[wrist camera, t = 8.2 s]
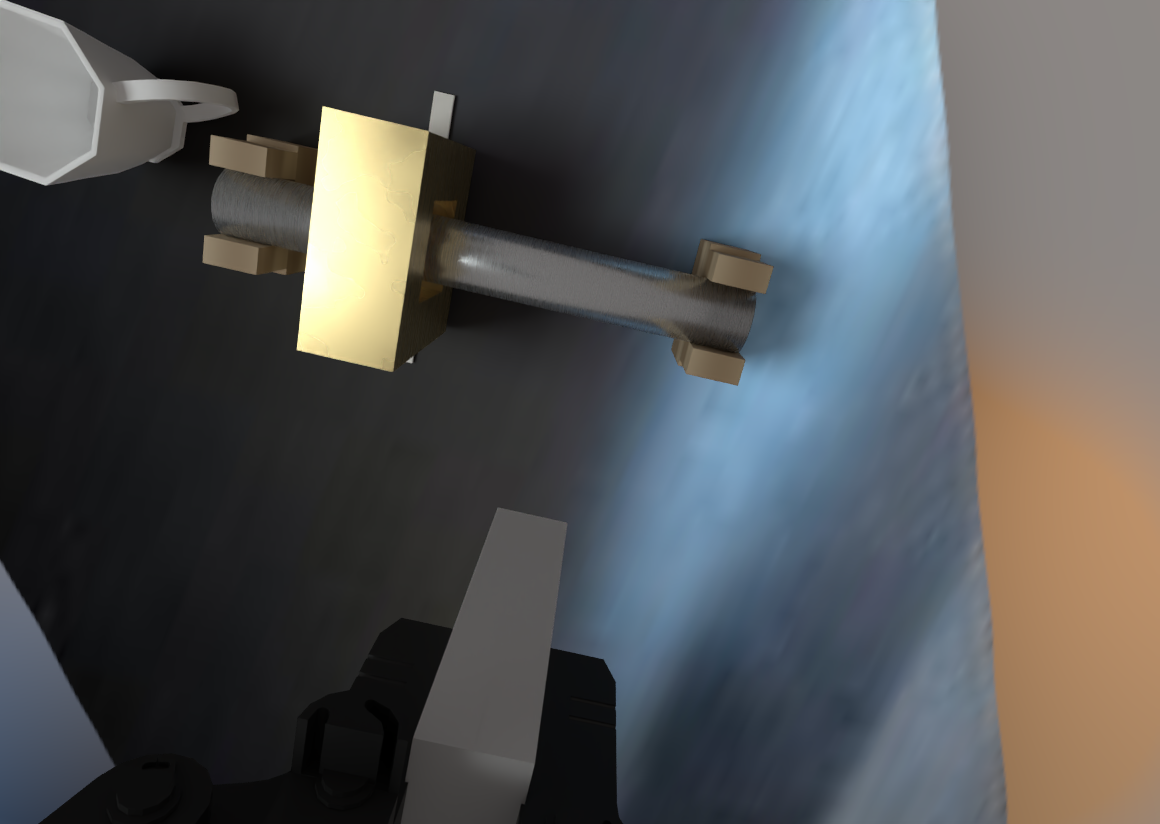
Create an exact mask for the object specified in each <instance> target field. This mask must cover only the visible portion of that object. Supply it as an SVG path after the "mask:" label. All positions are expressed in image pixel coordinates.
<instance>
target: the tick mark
mask: <svg viewBox="0 0 1160 824" xmlns="http://www.w3.org/2000/svg"><path fill="white" fill-rule="evenodd" d="M454 100H455V96H454V95H450V94H446V93H441V92H437V91H434V98H433V104H432V111H431V118H430V124H429V132H432V133H434V134H437V135H439V136H442V137H444V138H447V139H448V138H449V131H450V125H451V119H452V112H453V106H454ZM413 360H414V356H413V357H412V358H410V359H409V360H408V361H406V362H409V363H413Z"/></svg>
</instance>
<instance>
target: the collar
mask: <svg viewBox="0 0 1160 824" xmlns="http://www.w3.org/2000/svg"><path fill="white" fill-rule="evenodd" d="M475 153H476V150H474V149H472V148H469V147H467V146H464V145H462V144H459V143H457V142H454V141H452V140H449V139H447V138H444V137H442V136H439V135H437V134H434V133H432V132H429V131H425V130H421V129H417V128H412V127H408V126H404V125H400V124H396V123H391V122H387V121H383V120H379V119H374V118H370V117H366V116H362V115H357V114H353V113H349V112H345V111H340V110H336V109H332V108H328V107H324V106H323V110H322V119H321V128H320V138H319V147H318V156H317V166H316V175H315V185H314V194H313V203H312V213H311V222H310V231H309V241H308V250H307V260H306V269H305V278H304V288H303V297H302V306H301V316H300V325H299V334H298V344H297V350H299V351H303V352H308V353H312V354H317V355H321V356H325V357H330V358H334V359H339V360H343V361H347V362H352V363H356V364H361V365H365V366H369V367H374V368H378V369H382V370H387V371H391V372H393V371H395V370H396V369H397V368H399V367H400V366H401V365H403V364H404V363H405V362H406V361H408V360H409V359H410V358H412V357H413V356H414V355H416V354H417V353H418V352H419V351H421V350H422V349H423V348H425V347H426V346H427V345H429V344H430V343H431V342H433V341H434V340H435V339H436V338H438V337H439V336H440V335H442V334H443V333H444V332H445V330H446V324H447V318H448V313H449V307H450V301H451V295H452V289H453V287H449V286H444V285H440V284H436V283H431V282H427V281H423V280H422V278H423V271H424V265H425V258H426V252H427V245H428V239H429V233H430V226H431V220H432V214H435V215H439V216H443V217H448V218H452V219H456V220H460V221H464V218H465V212H466V206H467V200H468V194H469V188H470V183H471V177H472V171H473V165H474V159H475Z"/></svg>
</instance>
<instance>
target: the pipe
mask: <svg viewBox="0 0 1160 824" xmlns="http://www.w3.org/2000/svg"><path fill="white" fill-rule="evenodd" d="M313 194H314V186H310V185H306V184H302V183H298V182H293V181H289V180H285V179H280V178H267V177H261V176H257V175H253V174H248V173H244V172H240V171H236V170H231V169H227V168H226V169H225V170H224V171H222V173H221V174H220V175H219V177H218V178H217V180H216V183H215V185H214V189H213V193H212V200H211V211H212V218H213V221H214V224H215V226H216V228H217V230H218V231H219V232H220V233H222V234H224V235H228V236H232V237H237V238H241V239H245V240H250V241H254V242H258V243H263V244H267V245H271V246H275V247H280V248H284V249H288V250H293V251H297V252H301V253H306V254H307V250H308V241H309V231H310V222H311V213H312V203H313ZM422 280H423V281H427V282H431V283H436V284H440V285H444V286H449V287H453V288H457V289H462V290H466V291H470V292H475V293H479V294H483V295H488V296H492V297H496V298H501V299H505V300H509V301H514V302H518V303H522V304H526V305H531V306H535V307H539V308H544V309H548V310H552V311H557V312H561V313H565V314H570V315H574V316H578V317H583V318H587V319H591V320H596V321H600V322H604V323H609V324H613V325H617V326H622V327H626V328H630V329H635V330H639V331H643V332H648V333H652V334H656V335H661V336H665V337H669V338H674V339H678V340H682V341H687V342H691V343H695V344H700V345H704V346H708V347H713V348H717V349H721V350H726V351H730V352H734V353H738V352H739V351H740V350H741V349H742V347H743V345H744V343H745V341H746V339H747V336H748V334H749V331H750V328H751V324H752V321H753V317H754V312H755V306H756V292H754V291H750V290H746V289H741V288H737V287H733V286H729V285H724V284H720V283H716V282H712V281H710V280H709V279H708V278H705V277H700V276H696V275H692V274H688V273H683V272H679V271H675V270H670V269H666V268H662V267H658V266H653V265H649V264H645V263H640V262H636V261H632V260H628V259H623V258H619V257H615V256H610V255H606V254H602V253H598V252H593V251H589V250H585V249H580V248H576V247H572V246H568V245H563V244H559V243H555V242H550V241H546V240H542V239H538V238H533V237H529V236H525V235H520V234H516V233H512V232H508V231H503V230H499V229H495V228H490V227H486V226H482V225H478V224H473V223H469V222H465V221H460V220H456V219H452V218H448V217H443V216H439V215H435V214H432V220H431V226H430V233H429V239H428V245H427V252H426V258H425V265H424V271H423V278H422Z"/></svg>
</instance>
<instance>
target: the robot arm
mask: <svg viewBox="0 0 1160 824" xmlns="http://www.w3.org/2000/svg"><path fill="white" fill-rule="evenodd" d="M566 529H567V523H566V522H561V521H557V520H552V519H548V518H543V517H538V516H534V515H529V514H525V513H520V512H516V511H511V510H507V509H502V508H497V511H496V514H495V516H494V519H493V522H492V525H491V527H490V530H489V533H488V535H487V538H486V541H485V544H484V546H483V549H482V552H481V554H480V557H479V560H478V563H477V565H476V568H475V571H474V573H473V576H472V579H471V582H470V584H469V587H468V590H467V592H466V595H465V598H464V601H463V603H462V606H461V609H460V611H459V614H458V617H457V620H456V622H455V625H454V628H453V629H451V628H446V627H442V626H437V625H432V624H428V623H423V622H418V621H414V620H409V619H405V618H401V619H399V620H398V621H396V622H395V623H394V624H392V625H391V626H389V627H388V628H387V629H385V630H384V631H382V632H381V633H380V634H379V636H378V638H377V640H376V642H375V643H374V645H373V647H372V649H371V651H370V653H369V655H368V658H367V659H366V660H365V662H364V664H363V666H362V668H361V670H360V672H359V675H358V677H356V679H355V681H354V683H353V685H352V687H351V688H350V690H348V691H343V692H338V693H333V694H329V695H327V696H325V697H323V698H321V699H319V700H317V701H315V702H313V703H311V704H310V705H309V706H308V707H307V708H306V709H305V710H304V711H303V712H302V714H301V715H300V716H299V717H298V718H297V727H296V735H295V743H294V751H293V759H292V767H291V771H289V772H288V773H286V774H283V775H280V776H277V777H274V778H271V779H268V780H262V781H255V782H248V783H234V784H220V785H213V784H212V781H211V779H210V776H209V773H208V770H207V769H206V768H205V767H203V766H202V765H201V764H199V763H198V762H197V761H196V760H194V759H193V758H189V757H185V756H181V755H177V754H173V753H169V754H152V755H145V756H142V757H139V758H136V759H132V760H129V761H126V762H123V763H121V764H119V765H117V766H116V767H114V768H112V769H111V770H109V771H107V772H106V773H104V774H102V775H101V776H99V777H98V778H96V779H95V780H94V781H92V782H91V783H90V784H89V785H87V786H86V787H85V788H83V789H82V790H81V791H80V792H78V793H77V794H76V795H75V796H73V797H72V798H71V799H69V800H68V801H67V802H66V803H64V804H63V805H62V806H61V807H59V808H58V809H57V810H56V811H54V812H53V813H52V814H50V815H49V816H48V817H47V818H45V819H44V820H43V821H41V822H40V823H39V824H623V823H622V821H621V820H620V818H619V815H618V808H617V777H616V729H615V727H616V710H615V706H616V682H615V680H614V678H613V676H612V674H611V672H610V671H609V669H608V667H607V665H606V663H605V661H604V659H599V658H595V657H590V656H585V655H581V654H576V653H572V652H567V651H562V650H558V649H553V648H550V647H551V640H552V633H553V625H554V618H555V610H556V603H557V595H558V588H559V581H560V573H561V566H562V558H563V551H564V543H565V536H566Z"/></svg>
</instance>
